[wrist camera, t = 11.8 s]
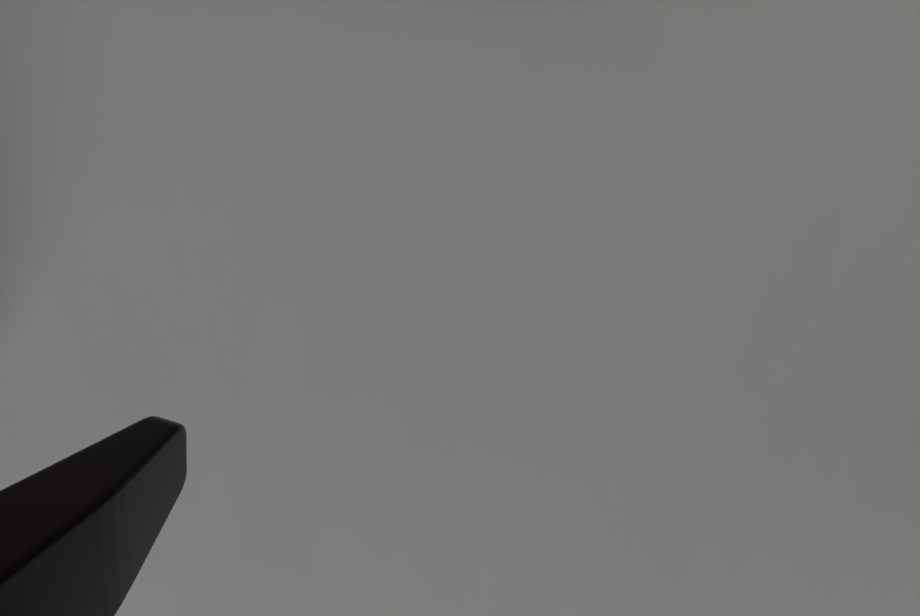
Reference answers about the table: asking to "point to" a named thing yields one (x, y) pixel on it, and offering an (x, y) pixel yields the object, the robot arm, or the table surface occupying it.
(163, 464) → the robot arm
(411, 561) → the table surface
